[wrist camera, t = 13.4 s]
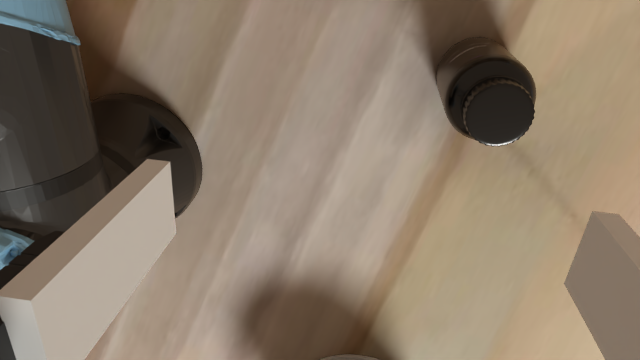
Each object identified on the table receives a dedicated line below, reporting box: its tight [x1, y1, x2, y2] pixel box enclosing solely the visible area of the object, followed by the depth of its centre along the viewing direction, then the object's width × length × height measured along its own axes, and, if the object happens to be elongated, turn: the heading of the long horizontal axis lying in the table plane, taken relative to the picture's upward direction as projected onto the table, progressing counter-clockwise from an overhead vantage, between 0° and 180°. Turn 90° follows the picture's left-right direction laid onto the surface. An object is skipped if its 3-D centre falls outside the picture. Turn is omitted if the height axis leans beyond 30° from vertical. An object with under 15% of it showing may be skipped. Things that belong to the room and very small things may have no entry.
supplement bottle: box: [436, 37, 536, 146], centre depth 38 cm, size 7×7×12 cm
